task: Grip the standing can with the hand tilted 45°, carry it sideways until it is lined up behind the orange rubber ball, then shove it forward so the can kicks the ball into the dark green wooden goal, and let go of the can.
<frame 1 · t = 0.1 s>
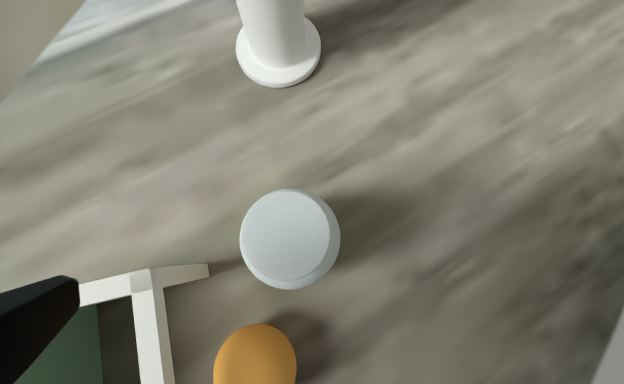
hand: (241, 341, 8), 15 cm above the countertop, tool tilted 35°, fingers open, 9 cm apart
goal: (162, 379, 21), on the countertop
supplement bottle: (297, 242, 23), on the countertop
ball: (255, 368, 19), point 2 cm above the countertop
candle: (279, 52, 26), on the countertop
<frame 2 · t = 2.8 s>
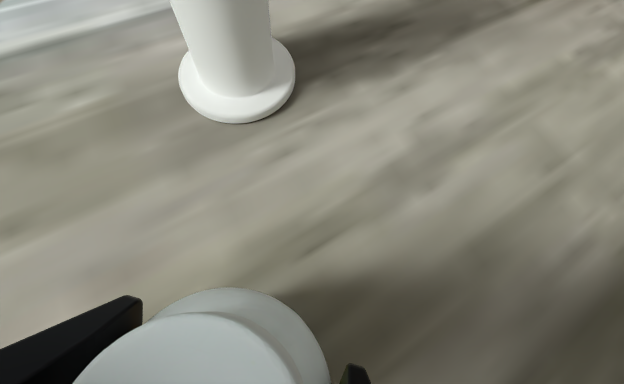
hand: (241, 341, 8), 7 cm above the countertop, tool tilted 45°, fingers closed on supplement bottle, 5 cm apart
supplement bottle: (255, 366, 13), on the countertop, touching gripper
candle: (239, 80, 20), on the countertop
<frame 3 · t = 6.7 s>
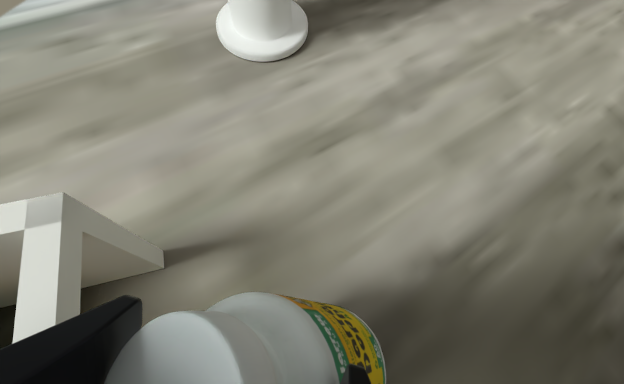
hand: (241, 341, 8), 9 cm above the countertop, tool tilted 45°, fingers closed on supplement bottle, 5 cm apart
supplement bottle: (331, 366, 14), point 1 cm above the countertop, touching gripper
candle: (263, 32, 24), on the countertop
when the fingers open (8 cm above the countertop, at t = 7.7 s): supplement bottle stays where it is, point 1 cm above the countertop.
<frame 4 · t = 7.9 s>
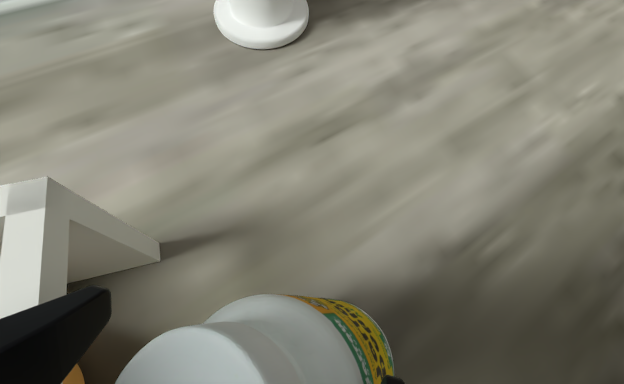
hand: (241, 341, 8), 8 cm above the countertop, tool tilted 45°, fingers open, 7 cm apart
supplement bottle: (335, 362, 14), point 1 cm above the countertop, touching gripper
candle: (262, 19, 24), on the countertop
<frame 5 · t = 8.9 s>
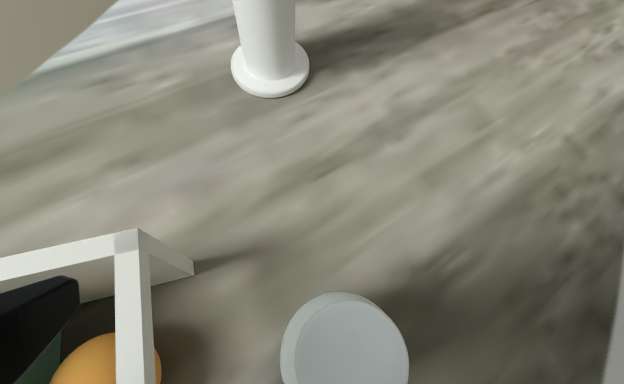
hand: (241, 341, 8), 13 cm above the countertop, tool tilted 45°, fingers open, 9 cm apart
supplement bottle: (328, 351, 19), on the countertop
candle: (271, 70, 28), on the countertop
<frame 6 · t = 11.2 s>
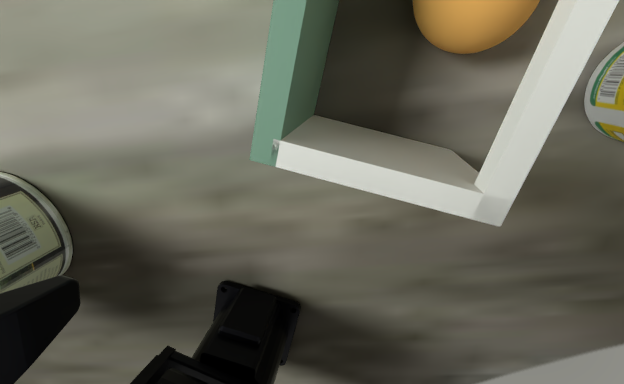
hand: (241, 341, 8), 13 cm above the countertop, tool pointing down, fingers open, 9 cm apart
goal: (414, 18, 16), on the countertop
coffee can: (20, 228, 25), on the countertop
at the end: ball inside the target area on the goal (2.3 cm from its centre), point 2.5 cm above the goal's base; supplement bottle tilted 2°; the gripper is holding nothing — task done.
